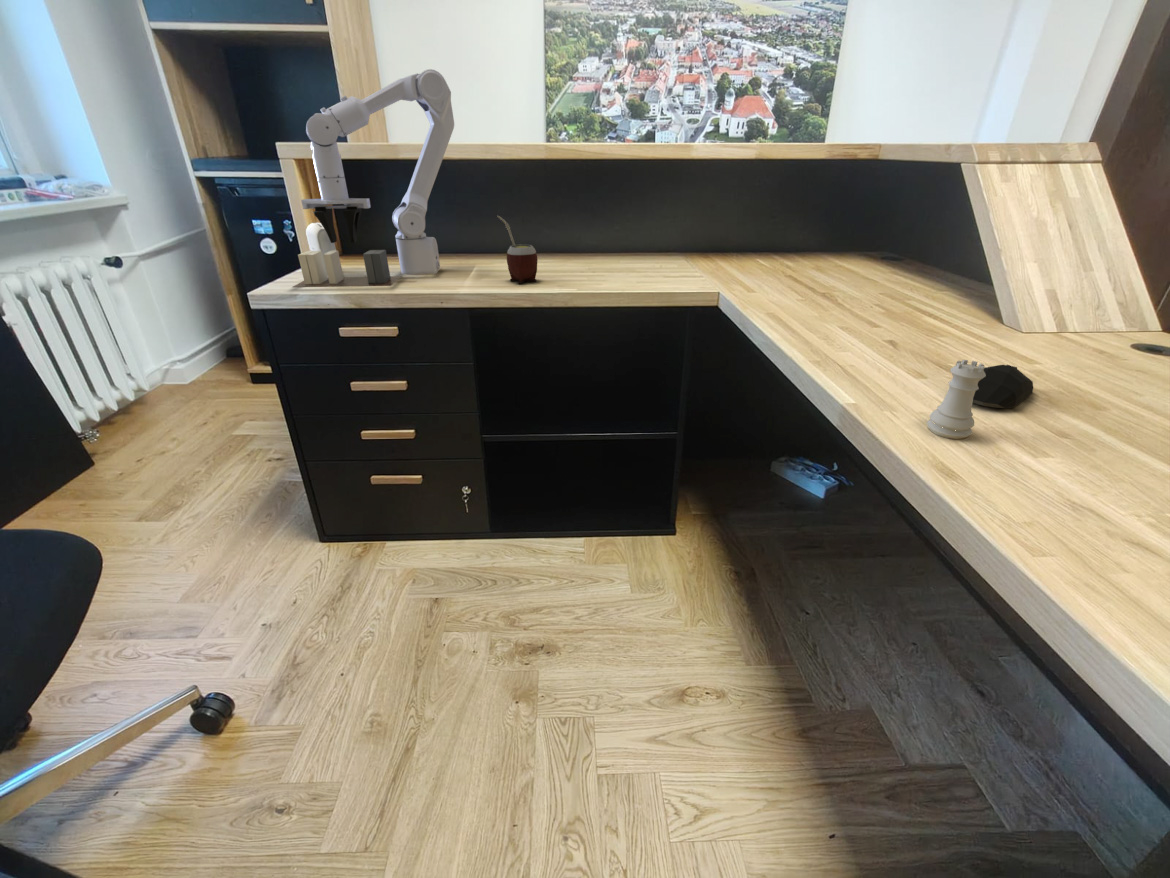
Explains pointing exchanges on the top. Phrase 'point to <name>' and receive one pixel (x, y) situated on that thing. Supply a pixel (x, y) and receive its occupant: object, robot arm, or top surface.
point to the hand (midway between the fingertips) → (344, 242)
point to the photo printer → (319, 239)
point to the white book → (333, 267)
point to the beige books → (313, 267)
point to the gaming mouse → (1002, 387)
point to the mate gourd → (521, 260)
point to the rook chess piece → (957, 402)
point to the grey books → (376, 266)
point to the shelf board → (351, 282)
